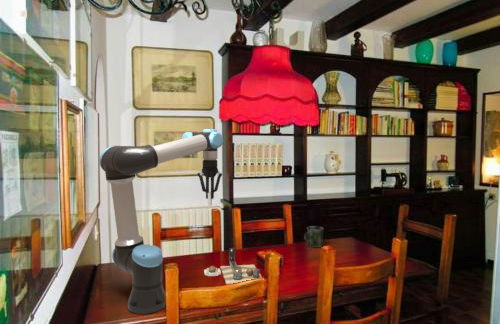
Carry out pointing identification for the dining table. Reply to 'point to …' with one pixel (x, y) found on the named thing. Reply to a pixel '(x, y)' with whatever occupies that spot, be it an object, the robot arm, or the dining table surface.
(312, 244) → the mug
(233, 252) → the lever
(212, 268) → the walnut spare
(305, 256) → the dining table surface
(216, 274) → the dish
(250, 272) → the walnut
